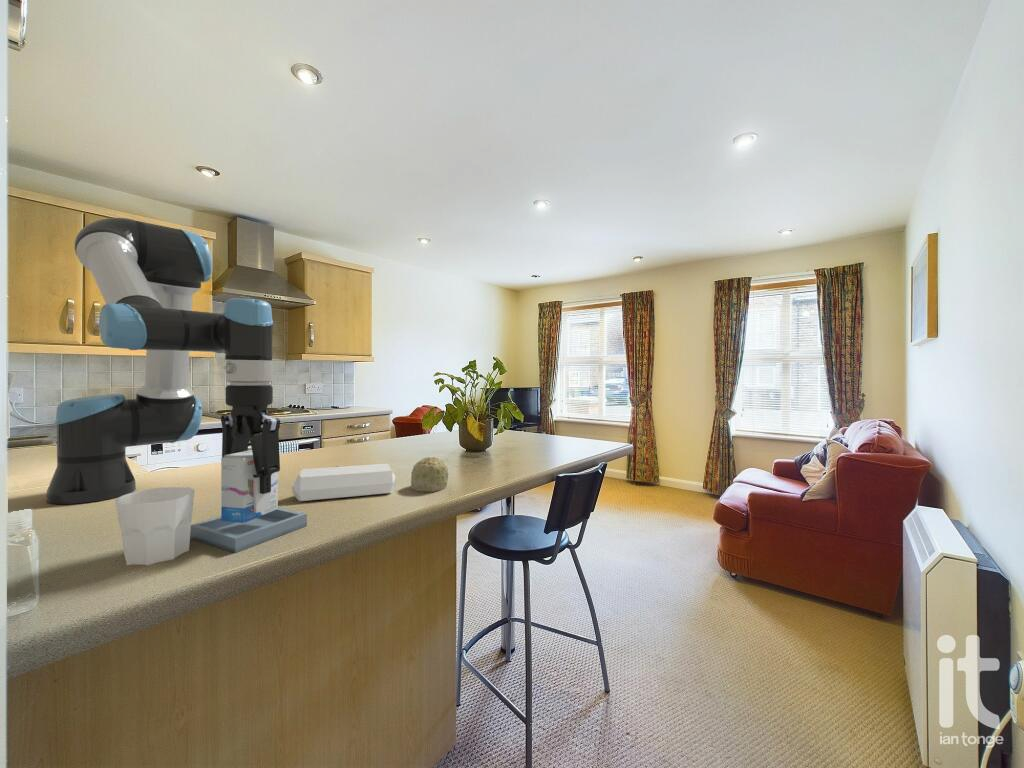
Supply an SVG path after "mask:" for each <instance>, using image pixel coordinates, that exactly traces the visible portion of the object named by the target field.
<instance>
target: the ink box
mask: <svg viewBox="0 0 1024 768" xmlns="http://www.w3.org/2000/svg"><path fill="white" fill-rule="evenodd" d="M220 459H221V462H220V463H221V464H220V465H221V466H220V467H221V469H220V471H221V472H220V473H221V475H220V477H221V481H220V483H221V485H220V487H221V495H220V496H221V497H220V498H221V499H220V500H221V501H220V502H221V504H220V505H221V507H220V508H221V509H220V510H221V514H220V515H221V520H222V521H227V522H239V523H245V522H247V521H250V520H252V519H255V518H257V517H260V516H262V515H265V514H267V513H269V512H272V511H274V510H277V509H278V507H279V506H278V505H279V504H278V503H279V502H278V501H279V497H278V496H279V494H278V493H279V492H278V489H279V486H278V485H279V484H278V483H279V482H278V481H279V479H278V478H279V477H278V474H279V472H275V473H273V474H272V475H271V492H270V509H267V510H264V511H261V512H258V513H255V512H254V497H253V475H255V474H257V473H256V468H255V463H254V458H253V453H252V449H249V450H248V451H244V452H238V453H233V454H228V455H224V457H222V456H221V458H220Z"/></svg>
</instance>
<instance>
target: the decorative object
mask: <svg viewBox="0 0 1024 768" xmlns="http://www.w3.org/2000/svg"><path fill="white" fill-rule="evenodd" d="M448 470H449V469H448V465H447V464H446V463H445V462H444V461H443V460H442V459H440V458H439V457H436V456H426V457H423V458H422V459H421V460H419V461H417V462H416V463H415V464H414V465H413V467H412V470H411V474H410V475H411V476H410V477H411V478H410V479H411V480H410V485H411V489H412V490H414V491H417V492H423V493H424V492H425V493H427V492H428V493H434V492H439V491H442V490H444V489H446V487H447V485H448V480H449V479H448V478H449V472H448Z"/></svg>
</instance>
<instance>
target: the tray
mask: <svg viewBox="0 0 1024 768" xmlns="http://www.w3.org/2000/svg"><path fill="white" fill-rule="evenodd" d="M307 526H308V513H306V512H305V513H304V512H301V511H296V510H291V509H286V508H283V507H279V506H278V509H277V510H274V511H272V512H269V513H267V514H265V515H262V516H260V517H257V518H255V519H252V520H250V521H247V522H245V523H239V522H227V521H222V520H221V516H218V517H215V518H211V519H207V520H203V521H200V522H197V523H193V524H191V529H190V540H192V541H196V542H199V543H202V544H205V545H209V546H212V547H215V548H219V549H222V550H224V551H229V552H231V553H235V554H237V553H239V552H241V551H244V550H247V549H250V548H252V547H254V546H258V545H260V544H262V543H266V542H268V541H271V540H273V539H276V538H279V537H282V536H284V535H287V534H289V533H292V532H294V531H297V530H300V529H302V528H305V527H307Z"/></svg>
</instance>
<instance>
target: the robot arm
mask: <svg viewBox="0 0 1024 768" xmlns="http://www.w3.org/2000/svg"><path fill="white" fill-rule="evenodd" d="M74 251H75V254H76V257H77V259H78V260H79V263H81V265H82V266H84V267H85V268H86V269H87V270H89V271H90V273H91V274H92V276H93V278H94V281H95V283H96V285H97V288H98V289H99V292H100V294H101V296H102V299H103V301H104V303H105V304H104V305H103V306H101V308H100V311H99V316H98V317H99V318H98V330H99V335H100V341H101V342H102V343H103V345H105V346H106V347H108V348H110V349H111V348H112V349H124V350H127V349H128V350H130V351H138V350H141V351H142V350H144V351H145V350H146V351H145V353H146V354H145V376H144V385H143V386H141V387H140V388H138V389H137V390H136V394H135V395H136V396H135V398H133V399H131V398H130V399H128V398H127V399H126V396H125V395H124V394H123V393H112V394H111V393H110V394H99V395H91V396H84V397H83V396H82V397H76V398H72V399H71V398H70V399H66V400H64V401H61V402H60V403H59V404H58V405H57V407H56V415H55V421H54V424H55V425H56V458H57V459H56V463H57V464H56V468H55V471H54V473H53V475H52V477H51V480H50V483H49V485H48V487H47V489H46V502H47V503H49V504H53V505H71V504H75V505H76V504H82V503H83V504H84V503H91V502H98V501H99V502H101V501H105V500H110V499H115V498H119V497H121V496H123V495H126V494H129V493H133V492H135V491H136V489H137V487H136V482H137V481H136V479H135V477H134V474H133V472H132V470H131V467H130V465H129V464H128V461H127V458H126V450H127V449H126V448H127V447H128V448H129V447H140V446H148V445H156V444H159V445H160V444H168V443H169V444H174V443H177V442H183V441H184V442H185V441H189V440H191V439H192V438H194V436H195V435H196V434H197V433H198V431H199V429H200V426H201V423H202V419H203V418H202V417H203V410H202V407H203V405H202V402H201V400H200V398H198V397H196V396H195V391H194V390H192V388H190V387H189V385H188V383H189V382H188V380H189V367H190V365H189V364H190V352H208V353H209V352H210V353H217V354H224V360H225V366H224V371H225V381H226V382H227V383H229V384H228V385H226V386H225V388H224V389H225V395H224V396H225V404H226V405H227V406H228V407H231V408H232V410H231V412H230V413H229V414H225V415H224V414H223V415H221V416H220V422H221V426H222V427H221V428H222V431H221V432H222V435H221V436H222V438H221V439H222V440H221V444H222V445H221V458H222V457H224V455H228V454H233V453H238V452H244V451H249V450H248V449H249V445H250V447H251V448H250V449H251V450H252V453H253V458H254V463H255V468H256V473H257V474H255V475H253V497H254V512H255V513H258V512H261V511H264V510H267V509H270V492H271V475H272V474H273V473H275V472H278V473H279V472H280V471H281V463H280V458H281V456H280V441H279V440H280V437H279V436H280V435H279V431H280V426H281V419H280V418H279V417H277V418H273V417H271V416H270V413H269V411H268V406H269V405H272V404H273V402H274V396H273V394H274V392H273V391H274V387H273V386H272V385H271V384H270V383H271V382H273V381H274V369H273V367H274V366H273V365H274V364H273V363H274V362H273V325H274V320H273V313H272V312H273V311H272V306H271V304H270V303H269V302H267V301H265V300H261V299H253V298H242V297H241V298H240V297H232V298H228V299H227V300H225V303H224V310H223V313H217V312H209V311H207V312H206V311H195V310H193V301H194V300H193V299H194V294H196V293H197V292H199V291H200V290H201V287H202V283H207V282H209V281H210V279H211V276H212V273H213V262H212V261H213V260H212V254H211V250H210V247H209V244H208V242H207V241H206V240H205V238H204V237H203V236H201V235H200V234H197V233H194V232H191V231H187V230H184V229H182V228H180V229H179V228H174V227H169V226H165V225H160V224H156V223H155V224H154V223H150V222H145V221H141V220H140V221H139V220H135V219H132V218H126V217H107V218H101V219H98V220H95V221H93V222H90V223H89V224H87V225H85V226H84V227H83V228H82V229H80V231H79V232H78V233H77V235H76V237H75V240H74Z"/></svg>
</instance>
